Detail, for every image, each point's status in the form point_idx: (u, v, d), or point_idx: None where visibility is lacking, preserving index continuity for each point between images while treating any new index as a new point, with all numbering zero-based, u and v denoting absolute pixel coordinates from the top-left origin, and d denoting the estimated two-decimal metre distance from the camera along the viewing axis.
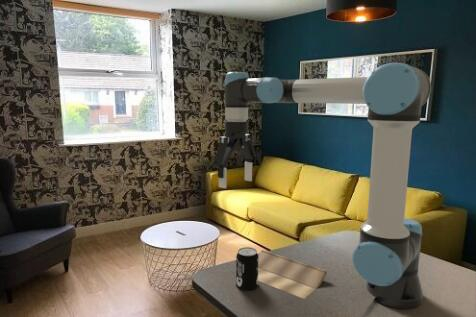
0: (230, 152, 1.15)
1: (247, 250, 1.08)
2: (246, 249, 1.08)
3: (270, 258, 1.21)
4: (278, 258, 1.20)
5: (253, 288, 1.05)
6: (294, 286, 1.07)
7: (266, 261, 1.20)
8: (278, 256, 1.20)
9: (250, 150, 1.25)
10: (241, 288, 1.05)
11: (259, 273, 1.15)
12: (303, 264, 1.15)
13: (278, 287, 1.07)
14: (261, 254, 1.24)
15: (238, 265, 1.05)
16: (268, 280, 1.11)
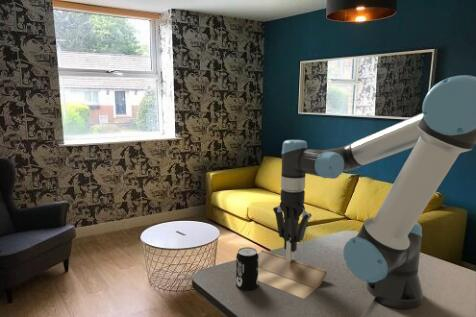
0: (285, 222, 1.15)
1: (247, 250, 1.08)
2: (246, 249, 1.08)
3: (270, 258, 1.21)
4: (278, 258, 1.20)
5: (253, 288, 1.05)
6: (294, 286, 1.07)
7: (266, 261, 1.20)
8: (278, 256, 1.20)
9: None
10: (241, 288, 1.05)
11: (259, 273, 1.15)
12: (303, 264, 1.15)
13: (278, 287, 1.07)
14: (261, 254, 1.24)
15: (238, 265, 1.05)
16: (268, 280, 1.11)
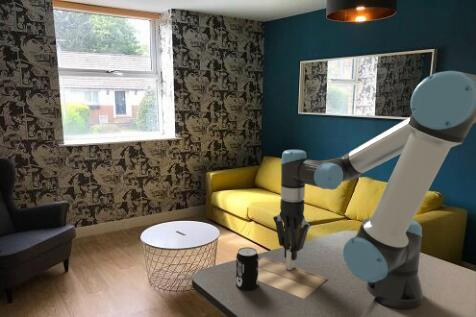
0: (285, 231, 1.16)
1: (247, 250, 1.08)
2: (246, 249, 1.08)
3: (271, 263, 1.22)
4: (279, 264, 1.21)
5: (253, 288, 1.05)
6: (294, 286, 1.07)
7: (266, 264, 1.21)
8: (279, 263, 1.21)
9: None
10: (241, 288, 1.05)
11: (259, 273, 1.15)
12: (304, 271, 1.16)
13: (278, 287, 1.07)
14: (262, 259, 1.24)
15: (238, 265, 1.05)
16: (268, 280, 1.11)
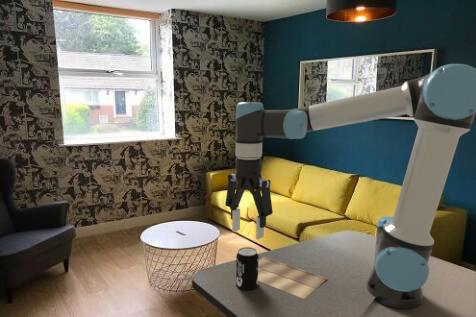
0: (237, 192, 1.04)
1: (247, 249, 1.08)
2: (246, 249, 1.08)
3: (271, 263, 1.22)
4: (279, 264, 1.21)
5: (253, 288, 1.05)
6: (294, 286, 1.07)
7: (266, 264, 1.21)
8: (279, 263, 1.21)
9: None
10: (241, 288, 1.05)
11: (259, 273, 1.15)
12: (304, 271, 1.16)
13: (278, 287, 1.07)
14: (262, 259, 1.24)
15: (238, 265, 1.05)
16: (268, 280, 1.11)
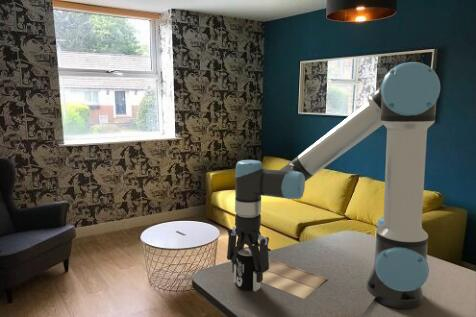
0: (237, 247, 1.07)
1: (247, 249, 1.08)
2: (246, 249, 1.08)
3: (271, 263, 1.22)
4: (279, 264, 1.21)
5: None
6: (294, 286, 1.07)
7: None
8: (279, 263, 1.21)
9: None
10: (241, 288, 1.05)
11: None
12: (304, 271, 1.16)
13: (278, 287, 1.07)
14: None
15: (238, 265, 1.05)
16: (268, 280, 1.11)
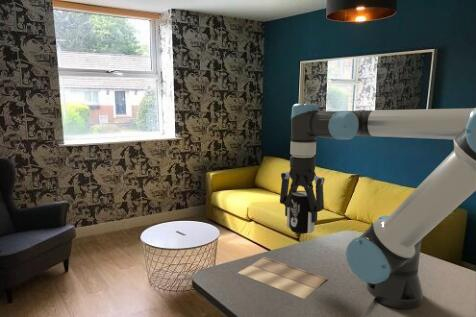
0: (291, 190, 1.10)
1: (300, 192, 1.11)
2: (299, 192, 1.11)
3: (271, 263, 1.22)
4: (279, 264, 1.21)
5: None
6: (294, 286, 1.07)
7: (266, 264, 1.21)
8: (279, 263, 1.21)
9: None
10: (296, 228, 1.08)
11: (259, 273, 1.15)
12: (304, 271, 1.16)
13: (278, 287, 1.07)
14: (262, 259, 1.24)
15: (293, 206, 1.08)
16: (268, 280, 1.11)
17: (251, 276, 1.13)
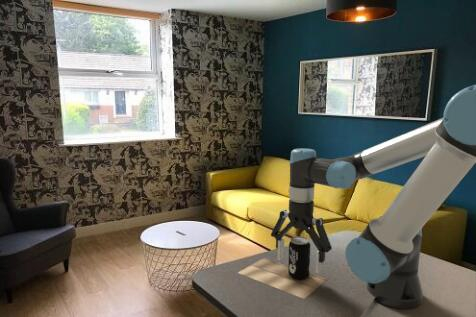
0: (286, 228, 1.13)
1: (299, 238, 1.13)
2: (298, 238, 1.13)
3: (271, 264, 1.22)
4: (279, 265, 1.21)
5: (306, 275, 1.11)
6: (294, 286, 1.07)
7: (266, 265, 1.21)
8: (279, 264, 1.22)
9: None
10: (294, 275, 1.11)
11: (259, 273, 1.15)
12: None
13: (278, 287, 1.07)
14: (262, 260, 1.24)
15: (291, 253, 1.10)
16: (268, 280, 1.11)
17: (251, 276, 1.13)
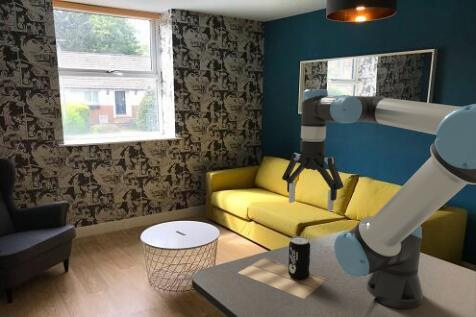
0: (297, 170, 1.15)
1: (299, 238, 1.13)
2: (298, 238, 1.14)
3: (271, 264, 1.22)
4: (279, 265, 1.21)
5: (306, 275, 1.11)
6: (294, 286, 1.07)
7: (266, 265, 1.21)
8: (279, 264, 1.22)
9: None
10: (294, 275, 1.11)
11: (259, 273, 1.15)
12: None
13: (278, 287, 1.07)
14: (262, 260, 1.24)
15: (291, 253, 1.10)
16: (268, 280, 1.11)
17: (251, 276, 1.13)
